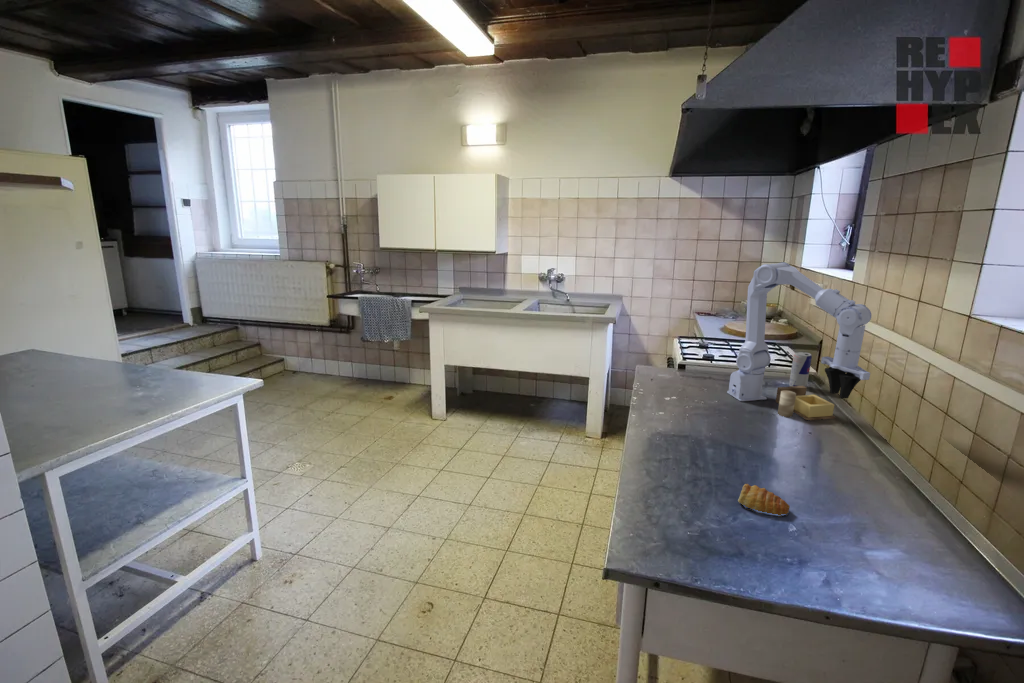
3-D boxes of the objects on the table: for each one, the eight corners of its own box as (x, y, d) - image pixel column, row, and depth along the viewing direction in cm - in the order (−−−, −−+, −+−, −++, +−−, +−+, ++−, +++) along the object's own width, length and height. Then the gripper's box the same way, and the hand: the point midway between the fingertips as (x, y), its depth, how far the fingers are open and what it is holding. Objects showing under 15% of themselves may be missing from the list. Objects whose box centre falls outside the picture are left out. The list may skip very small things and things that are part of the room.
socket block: (808, 417, 143) (810, 406, 142) (789, 406, 151) (791, 396, 150) (832, 415, 145) (834, 404, 144) (812, 405, 152) (814, 394, 151)
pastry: (790, 507, 103) (793, 491, 102) (785, 524, 98) (788, 507, 97) (742, 492, 108) (744, 477, 107) (735, 507, 103) (737, 492, 102)
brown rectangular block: (807, 420, 143) (810, 404, 142) (775, 401, 156) (777, 387, 155) (835, 418, 144) (838, 402, 143) (800, 400, 158) (803, 385, 156)
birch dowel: (783, 417, 145) (787, 395, 143) (774, 412, 149) (777, 390, 147) (795, 416, 146) (799, 394, 144) (786, 411, 150) (789, 390, 148)
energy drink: (809, 389, 167) (815, 356, 163) (793, 389, 167) (799, 356, 163) (801, 383, 172) (806, 351, 169) (785, 383, 172) (790, 351, 169)
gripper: (815, 342, 139) (807, 387, 143) (856, 357, 126) (847, 406, 129) (836, 341, 141) (828, 385, 144) (880, 356, 127) (870, 404, 130)
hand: (839, 395), depth 137 cm, fingers open, 3 cm apart
